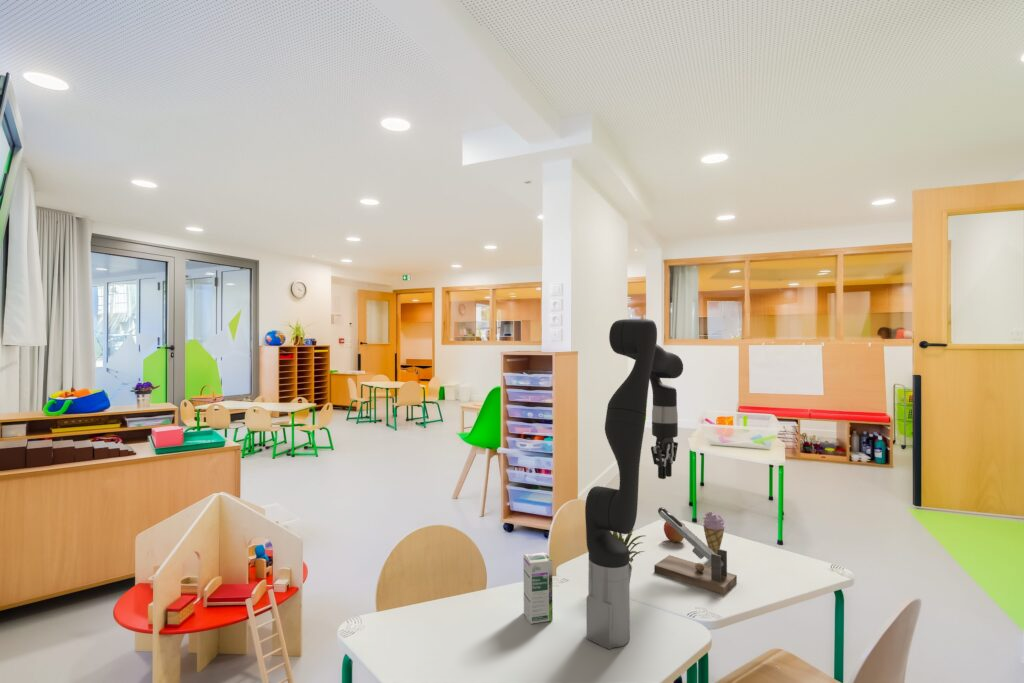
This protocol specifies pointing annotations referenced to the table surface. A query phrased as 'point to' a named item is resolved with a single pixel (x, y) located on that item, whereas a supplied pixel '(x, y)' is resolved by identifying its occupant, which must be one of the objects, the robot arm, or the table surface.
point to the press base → (699, 572)
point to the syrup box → (538, 587)
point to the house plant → (628, 547)
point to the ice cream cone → (713, 530)
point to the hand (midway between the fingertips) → (664, 477)
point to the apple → (672, 533)
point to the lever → (688, 535)
